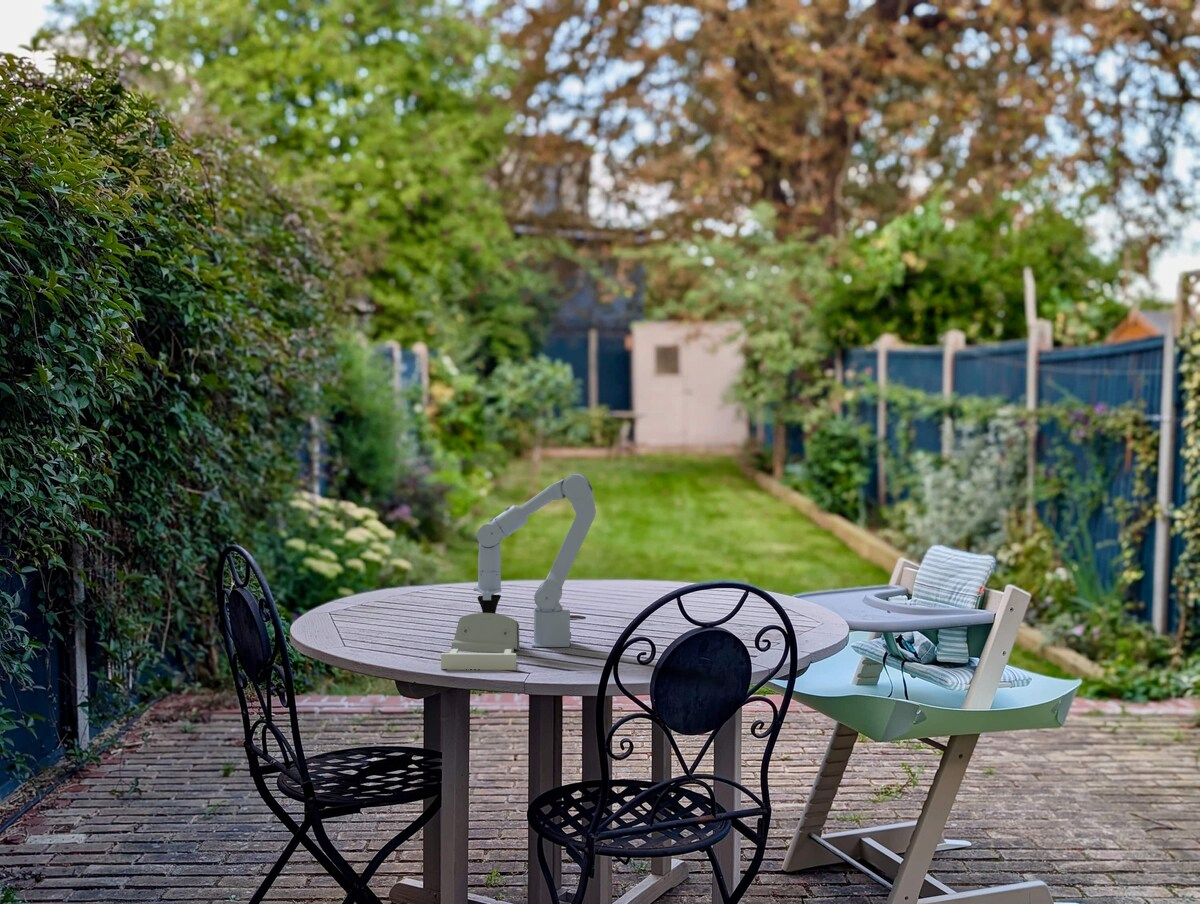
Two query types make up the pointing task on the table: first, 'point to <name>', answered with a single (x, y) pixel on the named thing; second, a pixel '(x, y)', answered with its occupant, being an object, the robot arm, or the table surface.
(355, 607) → the table surface
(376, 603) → the table surface
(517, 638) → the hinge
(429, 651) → the table surface
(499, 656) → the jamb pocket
